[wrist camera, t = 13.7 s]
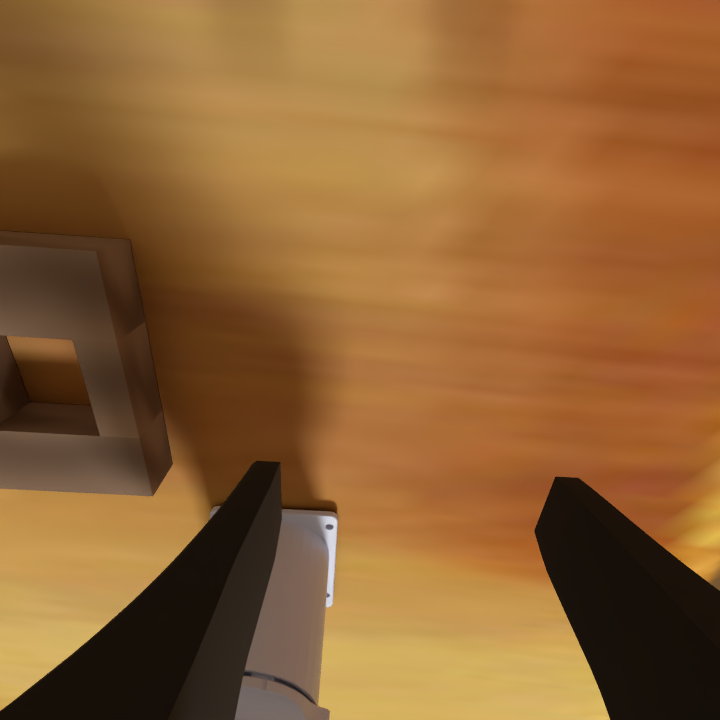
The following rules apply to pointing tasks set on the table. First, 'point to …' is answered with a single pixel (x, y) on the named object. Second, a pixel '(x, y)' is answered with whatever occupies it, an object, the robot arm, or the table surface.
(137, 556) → the table surface
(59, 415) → the pocket board
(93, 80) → the table surface
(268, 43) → the table surface
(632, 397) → the table surface
